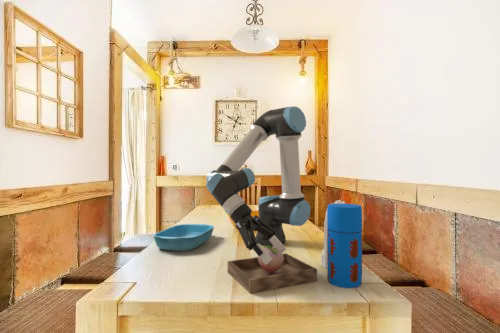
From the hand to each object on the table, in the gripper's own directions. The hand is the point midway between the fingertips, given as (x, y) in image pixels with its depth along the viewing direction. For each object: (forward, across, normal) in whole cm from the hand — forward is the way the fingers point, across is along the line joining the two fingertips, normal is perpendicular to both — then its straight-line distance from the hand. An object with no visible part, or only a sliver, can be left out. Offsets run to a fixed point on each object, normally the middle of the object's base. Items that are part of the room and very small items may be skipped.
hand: (276, 256), depth 105 cm
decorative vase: (+16, -22, +6) cm, 28 cm away
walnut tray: (+3, 0, -7) cm, 7 cm away
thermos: (+20, -6, +10) cm, 23 cm away
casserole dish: (-35, -24, -46) cm, 62 cm away
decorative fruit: (+3, 0, -6) cm, 7 cm away
